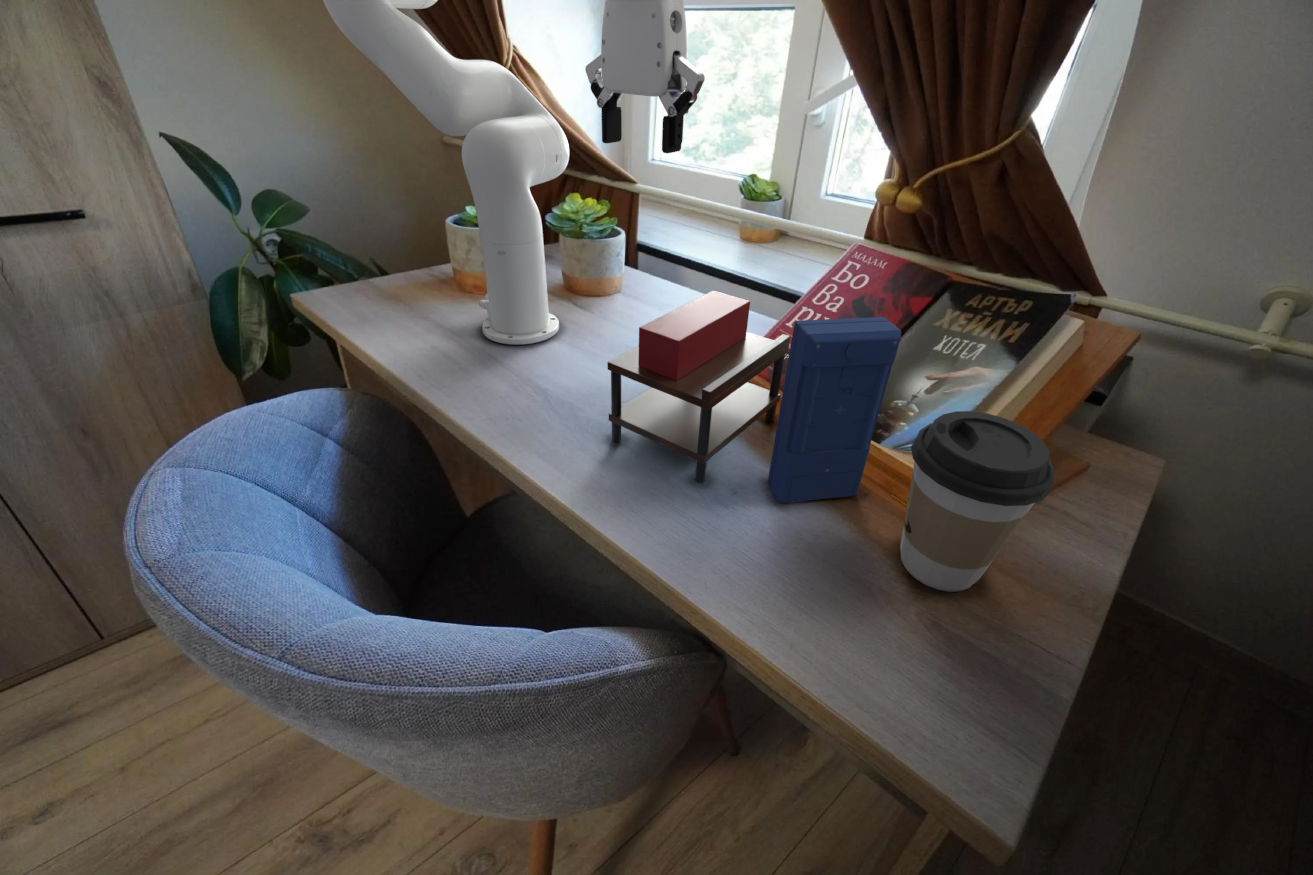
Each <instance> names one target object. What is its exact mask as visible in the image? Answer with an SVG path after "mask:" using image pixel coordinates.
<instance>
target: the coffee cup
mask: <svg viewBox="0 0 1313 875" xmlns="http://www.w3.org/2000/svg"><path fill="white" fill-rule="evenodd" d="M910 450H911V455H912V460H913V462H914V463H913V468H912V473H911V480H910V486H909V490H908V491H909V492H908V498H907V502H906V503H907V504H906V510H905V517H904V522H903V526H902V532H901V539H900V546H899V547H900V548H899V549H900V558H901V564H902V565H903V566H904V569H905V570H906V571H907V572H908V574H910V575H911V576H912V578H914V579H916V580H917V581H918V582H920V583H922V584H923V585H925V586H927V587H930V588H933V589H935V590H938V591H944V592H949V593H951V592H952V593H953V592H962V591H965V590H967V589H970V588H971V587H972V586H974V584H976V583H977V582H978V581H979V580H980V579H981V578H982V576H983V575H984V574H985V572H986V571H987V570H988V568H989V567H990V565H991V564H992V563H993V562H994V560H995V558H996V557H998V554H999V553H1000V552H1001V550H1002V549H1003V547H1004V546H1005V545H1006V543H1007V542H1008V541H1009V539H1010V538H1011V536H1012V535H1013V534H1014V532H1016V530H1017V528H1018V527H1019V525H1020V524H1021V523H1022V522H1023V520H1024V518H1025V517H1026V516H1027V515H1028V513H1029V512H1030V510H1031V509H1032V507H1034V505H1035V504H1036V503H1038V502H1042V501H1044V500H1045V499H1046V498H1047V497H1048V496H1049V495H1050V494H1051V493H1052V489H1053V484H1054V483H1055V473H1056V470H1055V468H1054V466H1053V464H1052V462H1051V460H1050V459H1051V452H1050V451H1049V449H1048V447H1047V444H1046V443H1045V442H1044V441H1043V440H1042V439H1041V438H1040V437H1039V436H1038V435H1036V433H1034V432H1033V431H1031V430H1030V429H1028V428H1027V427H1025V426H1023V425H1021V424H1020V423H1017V422H1015V421H1013V420H1011V419H1008V418H1005V417H1003V416H1002V417H1001V416H998V415H994V414H991V413H988V412H979V411H973V410H959V411H958V410H957V411H952V412H948V413H943V414H942V415H941V414H940V415H939V416H938V417H936V418H934V420H933V421H932V422H930V423H929V424H927V425H926V426H923V427H922V428H921V429H920V430H919V431H918V433H917V435H916V437H915V438H914V440H913V442H912V444H911V446H910Z"/></svg>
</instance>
